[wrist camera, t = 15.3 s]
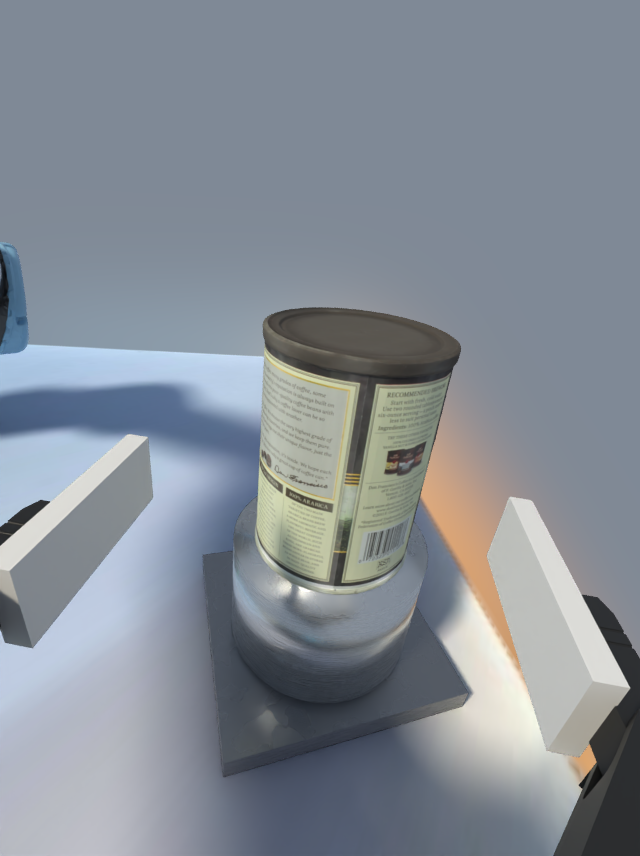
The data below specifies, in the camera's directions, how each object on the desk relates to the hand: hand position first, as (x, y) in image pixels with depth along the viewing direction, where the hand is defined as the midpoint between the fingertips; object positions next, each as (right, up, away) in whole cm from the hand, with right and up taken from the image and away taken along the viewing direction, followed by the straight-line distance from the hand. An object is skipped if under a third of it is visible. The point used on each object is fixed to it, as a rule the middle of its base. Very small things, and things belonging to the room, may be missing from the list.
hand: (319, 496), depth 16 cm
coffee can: (+1, -5, +13) cm, 14 cm away
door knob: (0, -13, +18) cm, 22 cm away
